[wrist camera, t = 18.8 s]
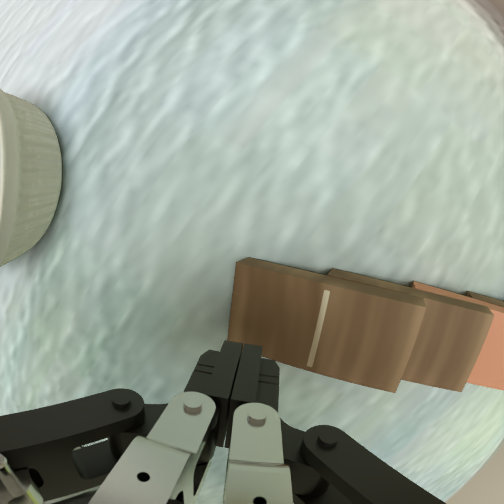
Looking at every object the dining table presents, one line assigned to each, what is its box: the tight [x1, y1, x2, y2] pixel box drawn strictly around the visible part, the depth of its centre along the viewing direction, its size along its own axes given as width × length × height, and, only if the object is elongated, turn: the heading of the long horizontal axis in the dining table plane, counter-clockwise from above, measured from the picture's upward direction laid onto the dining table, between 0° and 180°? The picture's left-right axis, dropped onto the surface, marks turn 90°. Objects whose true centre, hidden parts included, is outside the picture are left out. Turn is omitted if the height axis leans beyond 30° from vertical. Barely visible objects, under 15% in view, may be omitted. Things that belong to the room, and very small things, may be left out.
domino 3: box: [412, 281, 504, 390], centre depth 15 cm, size 2×5×10 cm
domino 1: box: [227, 257, 426, 393], centre depth 16 cm, size 2×5×10 cm
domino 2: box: [327, 268, 494, 392], centre depth 16 cm, size 2×5×10 cm
